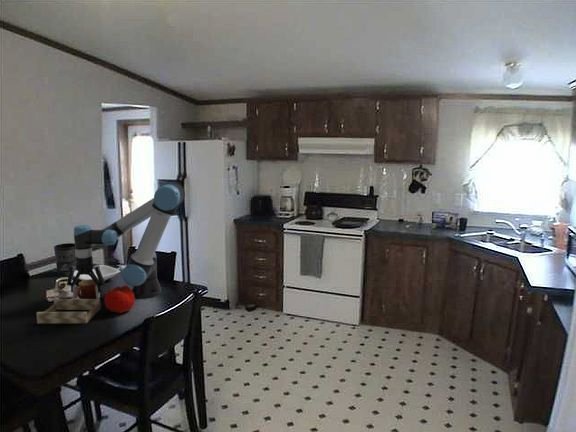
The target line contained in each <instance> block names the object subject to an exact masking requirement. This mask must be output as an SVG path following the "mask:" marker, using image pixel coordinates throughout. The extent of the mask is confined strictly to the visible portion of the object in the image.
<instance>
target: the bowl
mask: <svg viewBox="0 0 576 432" xmlns="http://www.w3.org/2000/svg"><path fill="white" fill-rule="evenodd" d="M97 266H100V272H101V274H102V276H103V279H104V281H105V282H106V281H107V280H108V279H110V278H113V277H115V276H116V275H117V274H119V273H120V272H121V270H119V269H118V268H115V267H112V266H110V265H104V264H99V265H97ZM93 272H94V274H95V275H96V277H97V274H96V271H95V270H94V269H93ZM77 273H78V271H77V270H76V271H74V275H73V278H75V276H76V274H77ZM97 278H98V277H97ZM89 279H92V278H91V277H90V276H89V275H85V274H83V275H80V277H79V278H78V280H79V281H80V280H81V281H83V280H89ZM98 280H99V279H98Z"/></svg>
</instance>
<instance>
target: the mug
mask: <svg viewBox="0 0 576 432" xmlns="http://www.w3.org/2000/svg"><path fill="white" fill-rule="evenodd" d="M96 286H97V285H96V284H95V282H94V281H93V279H89V280H83V281H82V280H81V281H79V282H78V287H77V298H78V299H96Z"/></svg>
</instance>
